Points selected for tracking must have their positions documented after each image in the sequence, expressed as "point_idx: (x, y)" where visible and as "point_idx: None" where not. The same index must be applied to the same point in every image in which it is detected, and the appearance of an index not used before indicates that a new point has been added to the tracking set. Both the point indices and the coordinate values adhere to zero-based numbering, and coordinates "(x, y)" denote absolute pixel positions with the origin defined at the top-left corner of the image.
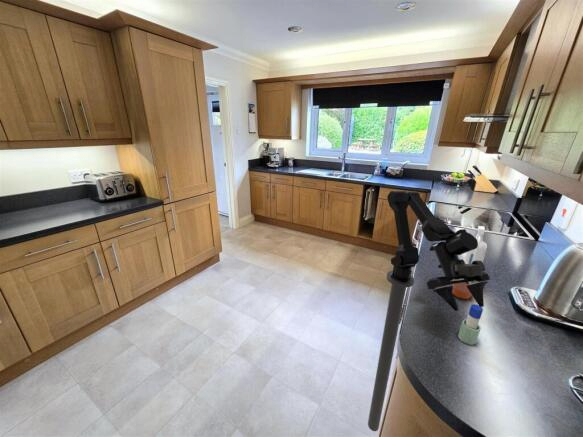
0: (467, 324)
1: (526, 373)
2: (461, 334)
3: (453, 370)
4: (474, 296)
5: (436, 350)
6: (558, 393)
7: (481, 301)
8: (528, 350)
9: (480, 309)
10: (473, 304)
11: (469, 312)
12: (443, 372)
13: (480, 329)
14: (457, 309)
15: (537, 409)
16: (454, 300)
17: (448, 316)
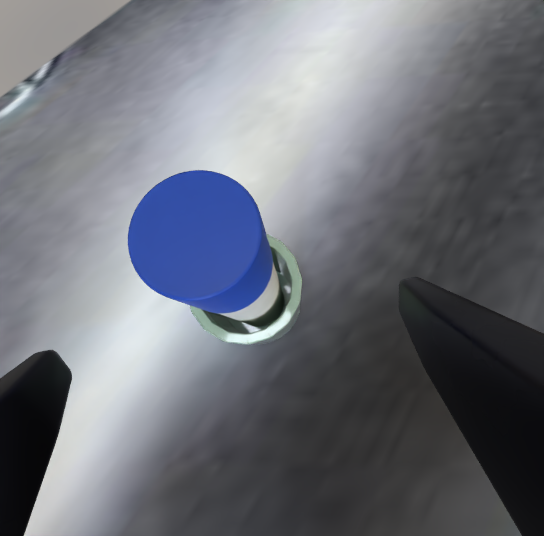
0: (277, 279)
1: (140, 127)
2: (301, 292)
3: (443, 125)
4: (4, 528)
5: (473, 224)
6: (105, 62)
7: (10, 388)
8: (15, 235)
9: (180, 191)
10: (196, 293)
11: (268, 272)
12: (495, 114)
13: None
14: (415, 280)
15: (231, 11)
16: (502, 341)
17: (250, 498)
